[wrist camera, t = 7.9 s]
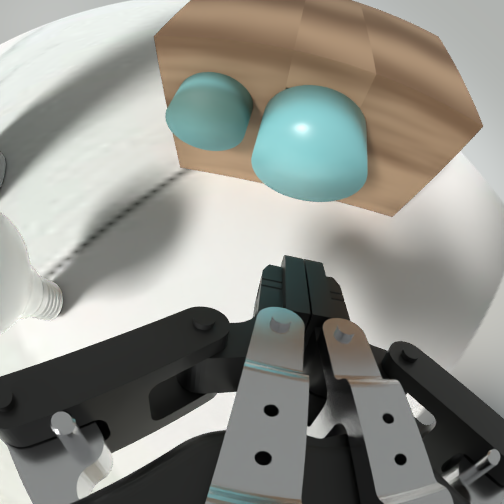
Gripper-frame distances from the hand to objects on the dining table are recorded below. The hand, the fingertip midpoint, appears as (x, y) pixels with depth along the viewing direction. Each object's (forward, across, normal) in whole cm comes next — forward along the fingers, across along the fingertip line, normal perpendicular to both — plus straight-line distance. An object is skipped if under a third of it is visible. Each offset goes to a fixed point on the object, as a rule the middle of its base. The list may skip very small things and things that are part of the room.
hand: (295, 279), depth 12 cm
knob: (+10, 0, -7) cm, 12 cm away
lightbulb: (+2, +14, +7) cm, 16 cm away
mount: (+13, 0, -4) cm, 14 cm away
